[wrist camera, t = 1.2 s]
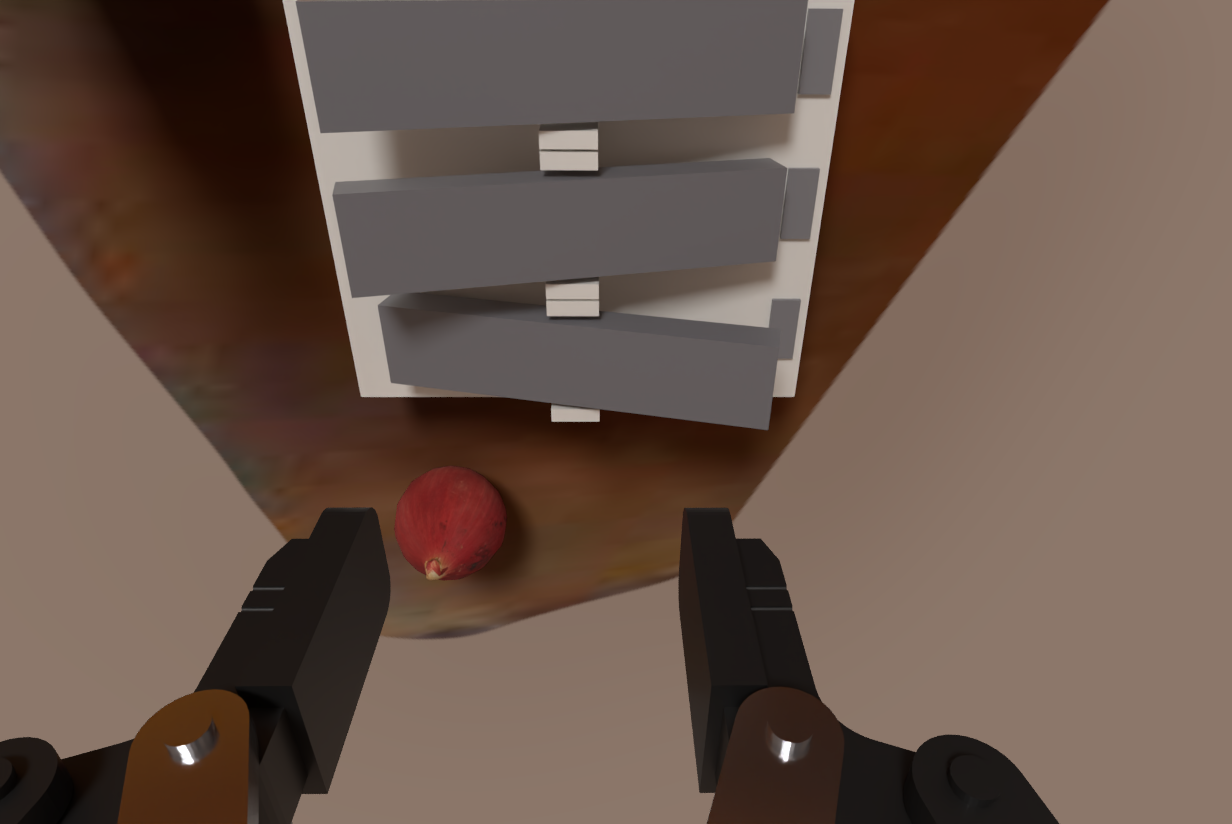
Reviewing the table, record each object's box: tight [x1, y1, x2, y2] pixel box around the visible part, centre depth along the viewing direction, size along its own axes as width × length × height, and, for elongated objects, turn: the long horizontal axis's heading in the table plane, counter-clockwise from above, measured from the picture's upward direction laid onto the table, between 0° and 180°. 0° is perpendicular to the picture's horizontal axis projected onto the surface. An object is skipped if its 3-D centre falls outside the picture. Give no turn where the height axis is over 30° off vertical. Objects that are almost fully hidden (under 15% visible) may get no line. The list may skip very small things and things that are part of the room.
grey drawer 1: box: [295, 0, 808, 133], centre depth 25 cm, size 4×16×2 cm, turn 90°
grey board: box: [378, 293, 781, 430], centre depth 31 cm, size 4×16×2 cm, turn 90°
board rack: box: [283, 0, 854, 422], centre depth 31 cm, size 18×20×8 cm
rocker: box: [332, 158, 787, 298], centre depth 28 cm, size 4×16×2 cm, turn 90°
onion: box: [394, 466, 507, 580], centre depth 40 cm, size 6×6×8 cm
